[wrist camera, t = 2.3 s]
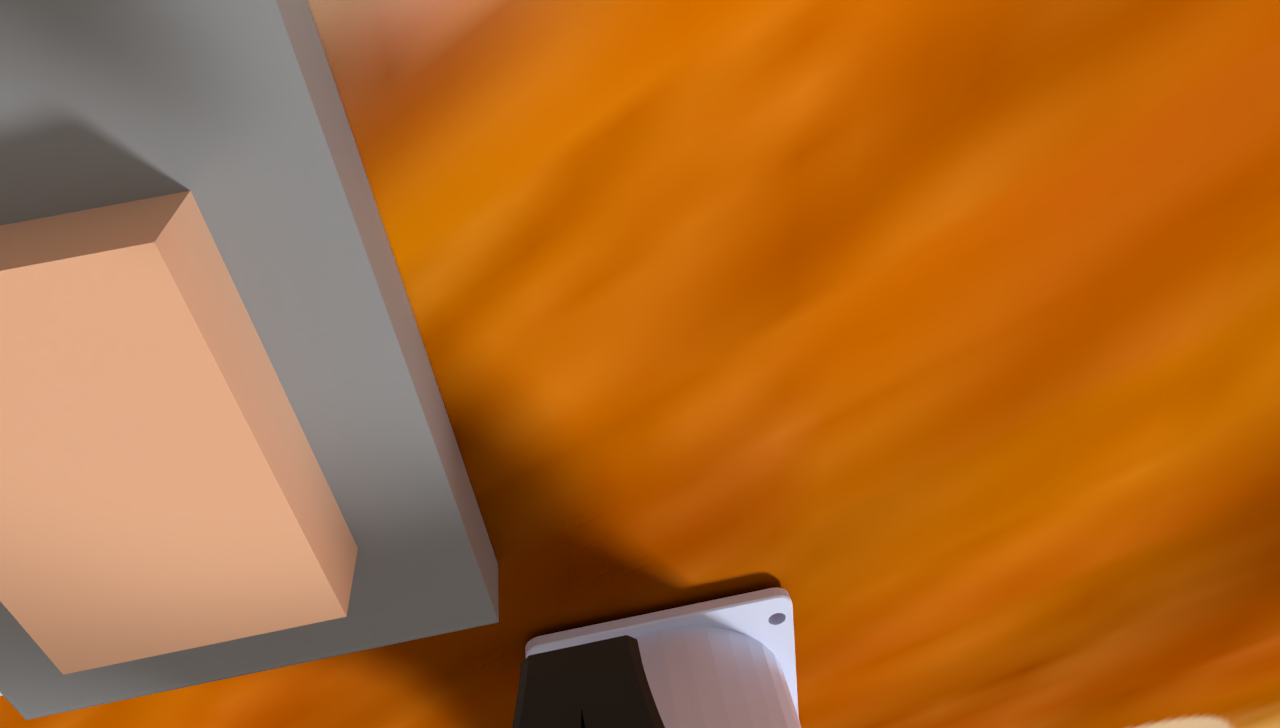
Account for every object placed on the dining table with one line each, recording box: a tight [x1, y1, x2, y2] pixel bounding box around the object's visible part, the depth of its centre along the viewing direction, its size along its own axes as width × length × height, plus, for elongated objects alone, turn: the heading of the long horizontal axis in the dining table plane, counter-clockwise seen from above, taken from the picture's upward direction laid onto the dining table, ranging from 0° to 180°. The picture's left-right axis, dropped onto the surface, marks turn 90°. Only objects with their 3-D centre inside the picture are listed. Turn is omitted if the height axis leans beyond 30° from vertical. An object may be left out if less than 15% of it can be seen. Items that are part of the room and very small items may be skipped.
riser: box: [0, 0, 499, 720], centre depth 18 cm, size 16×12×2 cm
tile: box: [0, 191, 358, 675], centre depth 17 cm, size 9×6×2 cm, turn 8°
